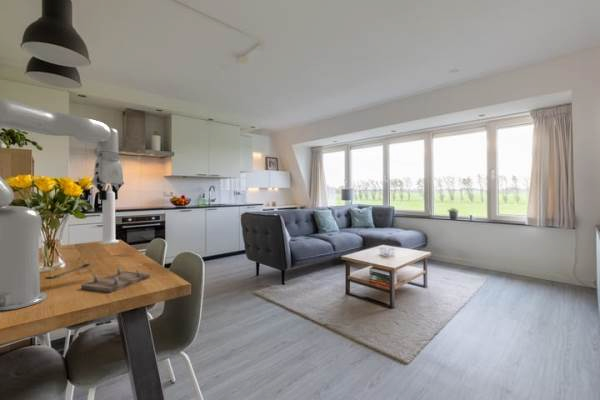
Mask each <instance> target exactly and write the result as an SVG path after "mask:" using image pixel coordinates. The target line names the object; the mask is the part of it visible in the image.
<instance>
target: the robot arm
mask: <svg viewBox="0 0 600 400" xmlns="http://www.w3.org/2000/svg"><path fill="white" fill-rule="evenodd" d="M0 128H10V129H13V130H20V131H26V132H30V133H36V134H41V135H45V136H52V137H56V136H57V137H59V136H60V137H74V138H75V140H76V141H78V142H80V143H85V144H86V143H87V144H88V143H89V144H96V151H97V152H95V153H94V156H96V157H97V159H96V160H95V164H94V169H93V171H94V172H93V178H92V180H90V183H91V184H92V185H94V187H96V189H97V191H98V193H99V194H98V197H99V201H102V200H106V199H107V191H106V190H107V188H106V186H107V184H108V185H109V184H110V186H111V187H110V189H111V190H112V191H113V192H114V193H115V201H118V199H119V193H118V192H119V190H120V189H121V187H122V186H124V185H125V182H124V174H123V173H124V171H123V167H122V166H123V165H122V163H121V161H120V160H119V155H120V154H119V152H120V151H119V131H118V130H117V129H116V128H113V127H109V125H107V124H105V122H102V121H99V120H96V119H93V118H88V117H84V116H81V115H80V116H79V115H73V114H68V113H64V112H58V111H51V110H48V109H44V108H40V107H36V106H32V105H29V104H27V103H26V104H25V103H21V102H18V101H15V100H11V99H7V98H0ZM14 198H15V193H14V191H13V189H12V188H11V186H10V185H9V184H8V182H6V181H5V180H4V179H3V177H2V176H1V175H0V311H9V310H17V309H22V308H26V307H30V306H33V305H36V304H39V303H41V302H43V301H44V300H46V299H47V293H45V292H41V281H40V280H41V279H40V278H41V277H40V271H41V270H40V250H39V248H40V233H41V230H42V223H43V222H42V216H41V215H40V213H38V211H36V210H35V209H33V208H30V207H27V206H24V205H23V206H21V205H20V206H19V205H10V204H11V203H12V202H13V200H14Z"/></svg>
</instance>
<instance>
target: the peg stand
mask: <svg viewBox="0 0 600 400" xmlns="http://www.w3.org/2000/svg"><path fill="white" fill-rule="evenodd" d="M116 272H117V273H114V274H111V275H108V276H105V277H102V278H99V276H98V274H95V275H93V280H92V281H89V282H85V283H83V284H81V285H80V286H81V290H88V291H97V292H101V293H102V292H103V293H109V294H110V293H113V292H117V291H119V290H121V289H123V288H126V287H129V286H131V285H134V284H137V283H139V282H142V281H144V280H147V279H150V278H151V274H150V273H144V272H141V270H140V269H137V270H136V272H133V271H122V268H120V267H118V268H117V270H116ZM149 277H150V278H149Z"/></svg>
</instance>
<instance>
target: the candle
mask: <svg viewBox="0 0 600 400" xmlns="http://www.w3.org/2000/svg"><path fill="white" fill-rule="evenodd" d="M110 186H111V185H109V184H107V188H106V189H105V190H106V191H107V199H106V200H101V201H102V206H101V207H102V208H101V210H102V240H100V241H99V242H98V244H100V245H112V244H118V243H119V242H120V240H118V239H116V200H115V193H114V192H113V191H112V188H111V187H110Z"/></svg>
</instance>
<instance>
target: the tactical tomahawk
mask: <svg viewBox="0 0 600 400" xmlns="http://www.w3.org/2000/svg"><path fill="white" fill-rule="evenodd" d="M90 265H91V263H84V264H83V265H82V266H80V267H79V266H77V267H75V268H72V269H69V270H67V271H64V272H61V273H58V274H56V275H54V276H46V277H45V280H47V279H48V280H57V279H58V278H60V277H61V276H63V275H66V274H70V273H72V272H76V271H78V270H81V269H84V268H86V267H88V266H90Z"/></svg>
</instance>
